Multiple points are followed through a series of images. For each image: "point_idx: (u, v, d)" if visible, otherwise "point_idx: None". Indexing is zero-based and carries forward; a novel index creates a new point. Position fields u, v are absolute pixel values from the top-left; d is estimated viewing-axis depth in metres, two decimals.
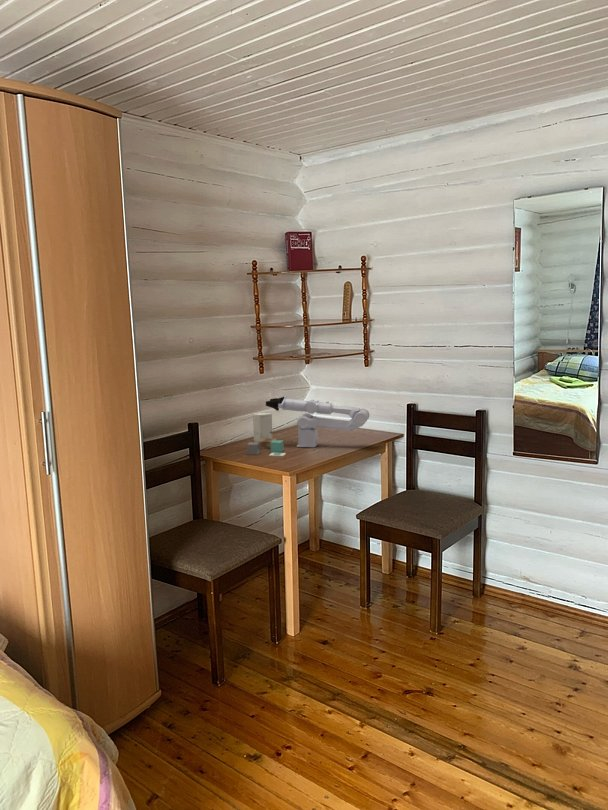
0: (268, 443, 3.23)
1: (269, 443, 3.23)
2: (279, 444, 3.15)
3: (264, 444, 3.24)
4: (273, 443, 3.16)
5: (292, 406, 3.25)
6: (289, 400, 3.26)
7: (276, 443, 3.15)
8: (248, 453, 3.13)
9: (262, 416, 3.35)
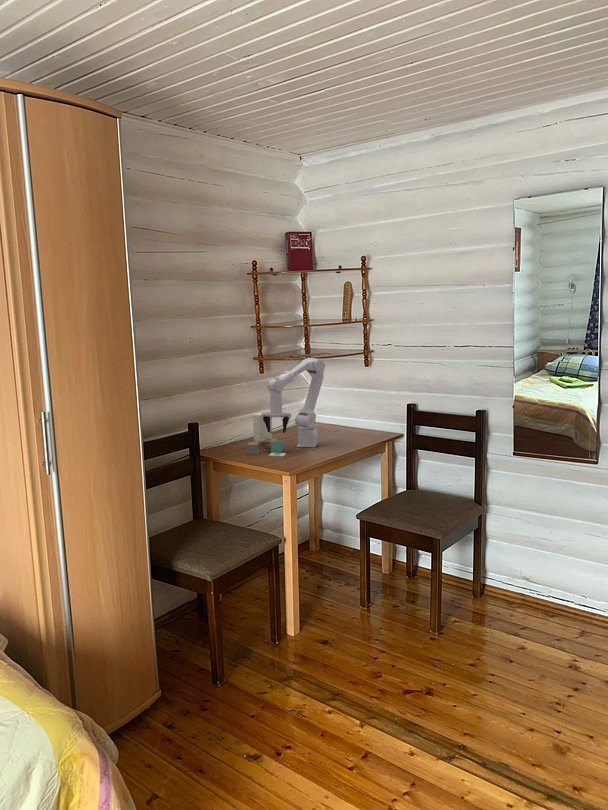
0: (268, 443, 3.23)
1: (269, 443, 3.23)
2: (279, 444, 3.15)
3: (264, 444, 3.24)
4: (273, 443, 3.16)
5: (281, 404, 3.15)
6: (278, 409, 3.13)
7: (276, 443, 3.15)
8: (248, 453, 3.13)
9: None
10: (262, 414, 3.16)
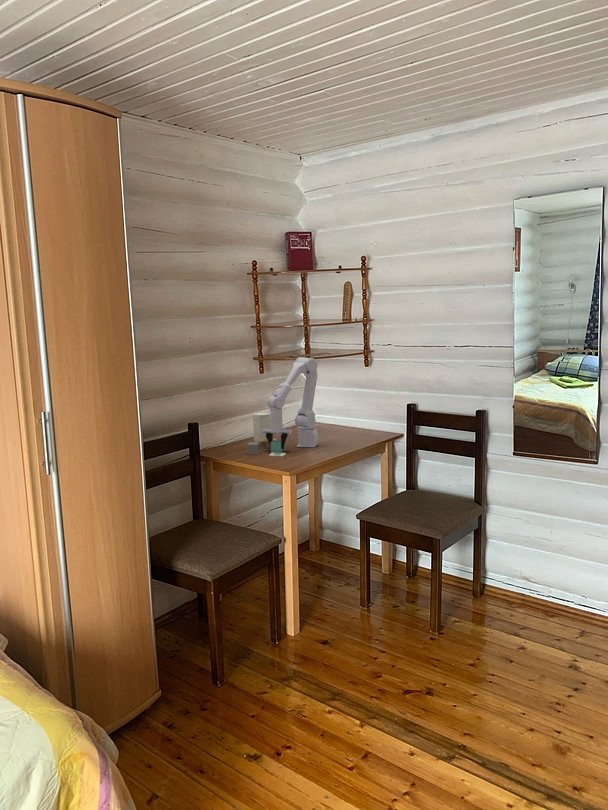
0: (267, 443, 3.23)
1: (268, 443, 3.23)
2: (279, 444, 3.15)
3: (264, 444, 3.24)
4: (273, 443, 3.16)
5: (281, 421, 3.16)
6: (278, 426, 3.14)
7: (276, 443, 3.15)
8: (248, 453, 3.13)
9: (262, 416, 3.35)
10: (262, 430, 3.18)
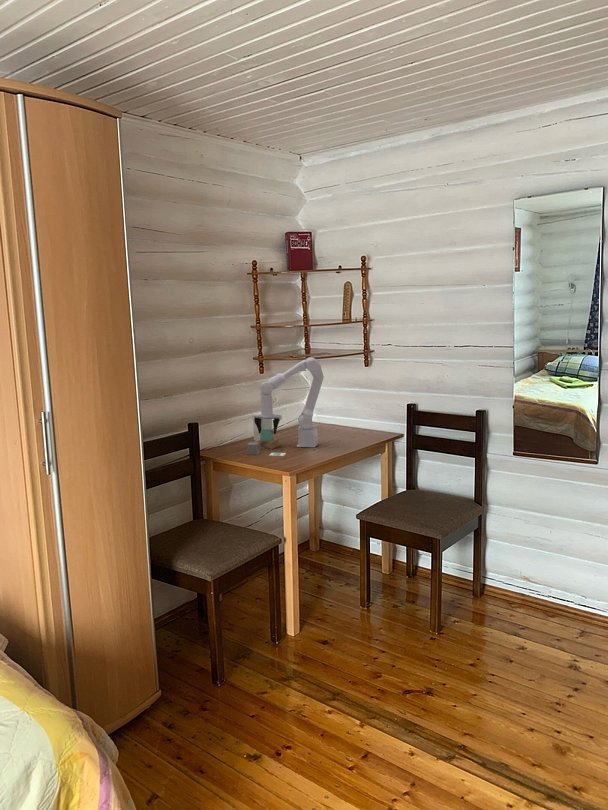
0: (267, 443, 3.23)
1: (268, 443, 3.23)
2: (269, 433, 3.24)
3: (263, 444, 3.24)
4: (263, 432, 3.24)
5: (272, 406, 3.24)
6: (268, 411, 3.22)
7: (266, 432, 3.24)
8: (248, 453, 3.13)
9: None
10: (253, 416, 3.26)
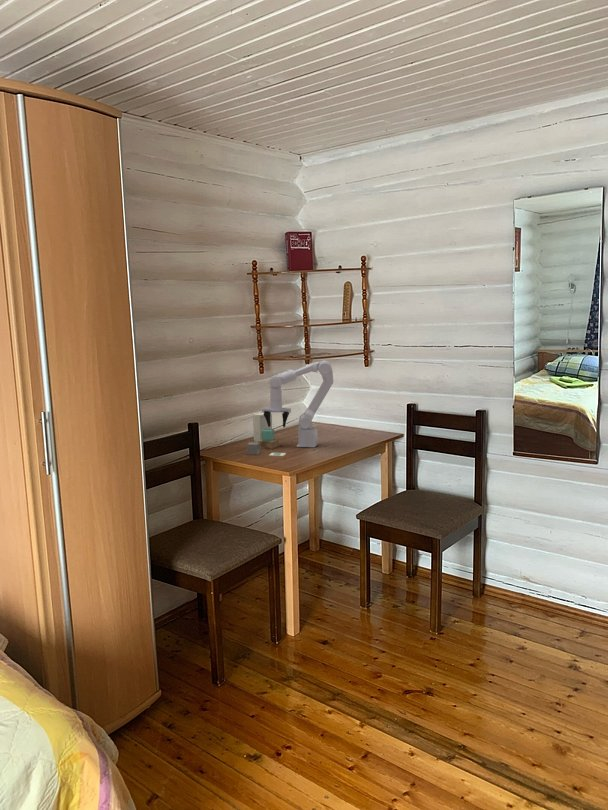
0: (267, 443, 3.23)
1: (268, 443, 3.23)
2: (270, 433, 3.24)
3: (264, 444, 3.24)
4: (264, 432, 3.24)
5: (281, 400, 3.26)
6: (277, 404, 3.24)
7: (267, 432, 3.24)
8: (248, 453, 3.13)
9: (262, 416, 3.35)
10: (262, 409, 3.27)
